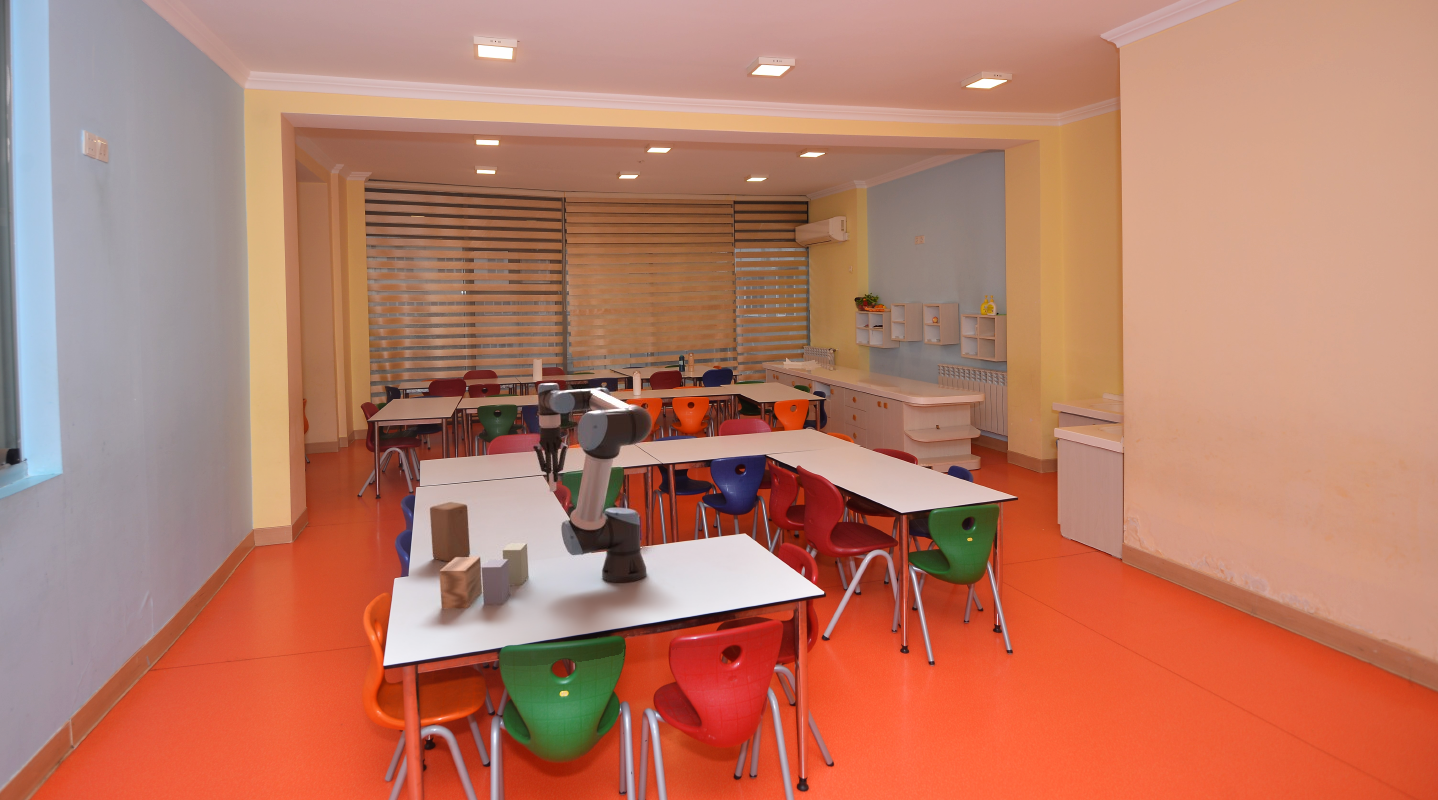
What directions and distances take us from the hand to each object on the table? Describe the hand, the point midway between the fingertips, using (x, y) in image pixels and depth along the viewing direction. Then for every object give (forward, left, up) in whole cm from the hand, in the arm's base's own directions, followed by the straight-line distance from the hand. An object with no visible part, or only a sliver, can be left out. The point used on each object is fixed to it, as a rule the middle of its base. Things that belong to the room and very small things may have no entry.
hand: (553, 490), depth 284 cm
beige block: (+5, +22, -27) cm, 35 cm away
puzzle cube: (-18, -26, -27) cm, 41 cm away
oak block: (+14, +42, -27) cm, 51 cm away
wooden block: (+42, 0, -27) cm, 50 cm away
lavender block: (+3, +40, -27) cm, 48 cm away
